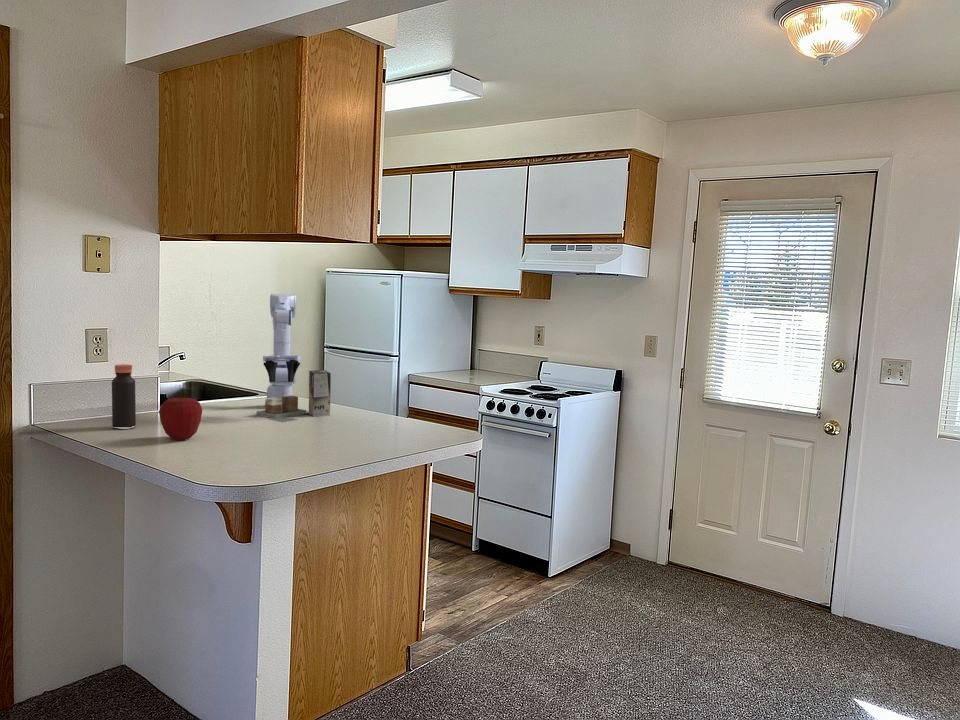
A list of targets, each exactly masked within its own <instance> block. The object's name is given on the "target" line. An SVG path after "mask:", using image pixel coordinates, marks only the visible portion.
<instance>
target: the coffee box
mask: <svg viewBox="0 0 960 720" xmlns="http://www.w3.org/2000/svg"><path fill="white" fill-rule="evenodd" d="M331 375H332V373H331V372H330V371H328V370H325V369H324V370H323V369H321V370H308V414H309V415H311V416H312V417H330V416H331V392H332V391H331V386H332V385H331V381H332V380H331V378H332V377H331Z"/></svg>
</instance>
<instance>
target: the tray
mask: <svg viewBox="0 0 960 720" xmlns="http://www.w3.org/2000/svg"><path fill="white" fill-rule="evenodd" d="M306 414H307V410H306V409H302V408H298V411H296V412H289V413H282V414H270V413H265V409H264V410H263V409H262V410H256V415H257V416H261V417H267V418H269V419H275V418H282V417H288V418H289V417H292V416H293V417H294V416H300V415H306Z"/></svg>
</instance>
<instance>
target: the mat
mask: <svg viewBox="0 0 960 720" xmlns="http://www.w3.org/2000/svg"><path fill="white" fill-rule="evenodd" d="M298 420H299V419H298V418H292V417H289V416H288V417H281V418H269V421H274V422H278V423H286V422H293V421H298Z"/></svg>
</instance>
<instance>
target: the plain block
mask: <svg viewBox="0 0 960 720" xmlns="http://www.w3.org/2000/svg"><path fill="white" fill-rule="evenodd" d="M298 409H299V396H296V395H292V396H282V413H289V412H296V411H298Z"/></svg>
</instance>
